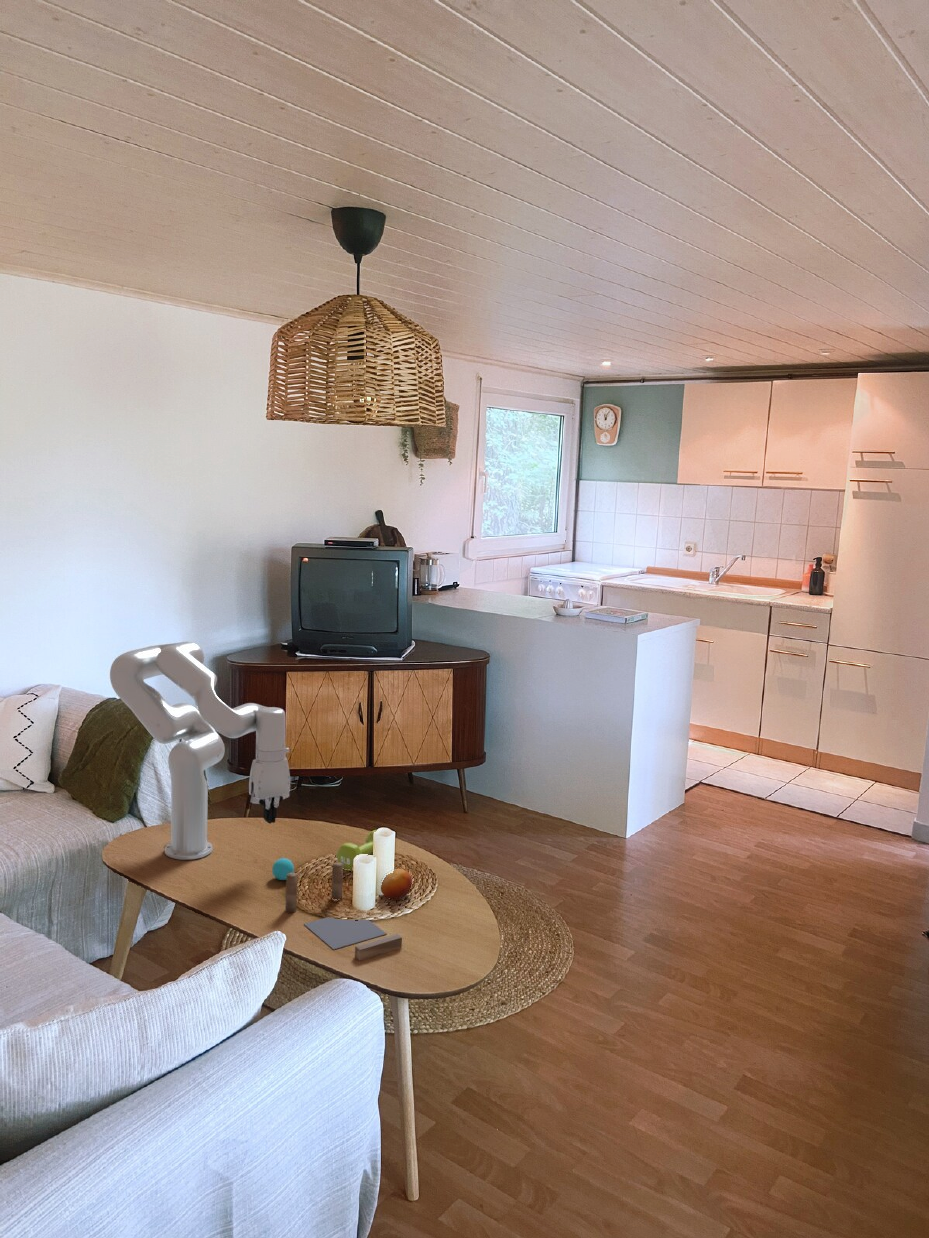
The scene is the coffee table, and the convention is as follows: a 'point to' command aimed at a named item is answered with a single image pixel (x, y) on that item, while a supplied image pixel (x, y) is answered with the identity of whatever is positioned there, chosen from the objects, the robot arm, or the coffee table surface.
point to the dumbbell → (354, 851)
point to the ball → (282, 868)
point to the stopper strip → (378, 947)
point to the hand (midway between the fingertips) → (269, 821)
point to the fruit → (397, 884)
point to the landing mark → (344, 931)
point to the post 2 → (337, 880)
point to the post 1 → (291, 892)
